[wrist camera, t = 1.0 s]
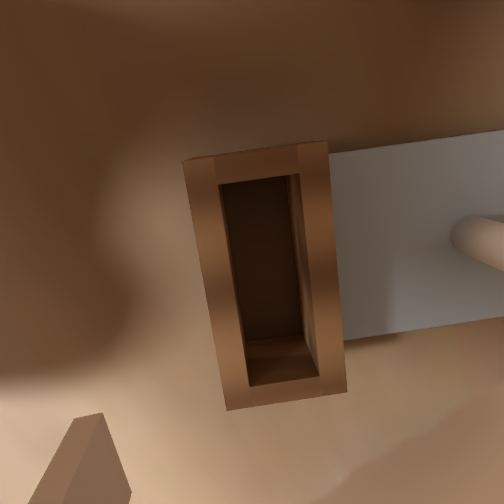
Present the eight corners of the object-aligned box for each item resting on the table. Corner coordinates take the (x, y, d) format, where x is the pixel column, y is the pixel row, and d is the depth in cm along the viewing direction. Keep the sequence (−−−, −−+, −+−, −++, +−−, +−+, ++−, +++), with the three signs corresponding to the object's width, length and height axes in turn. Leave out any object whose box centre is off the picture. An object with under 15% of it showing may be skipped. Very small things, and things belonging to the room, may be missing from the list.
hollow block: (325, 346, 31) (347, 392, 26) (226, 361, 31) (226, 410, 25) (306, 142, 27) (327, 141, 21) (192, 158, 27) (182, 161, 21)
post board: (336, 333, 31) (367, 387, 24) (321, 154, 27) (353, 157, 20) (580, 297, 31) (679, 339, 25) (598, 115, 28) (721, 105, 21)
